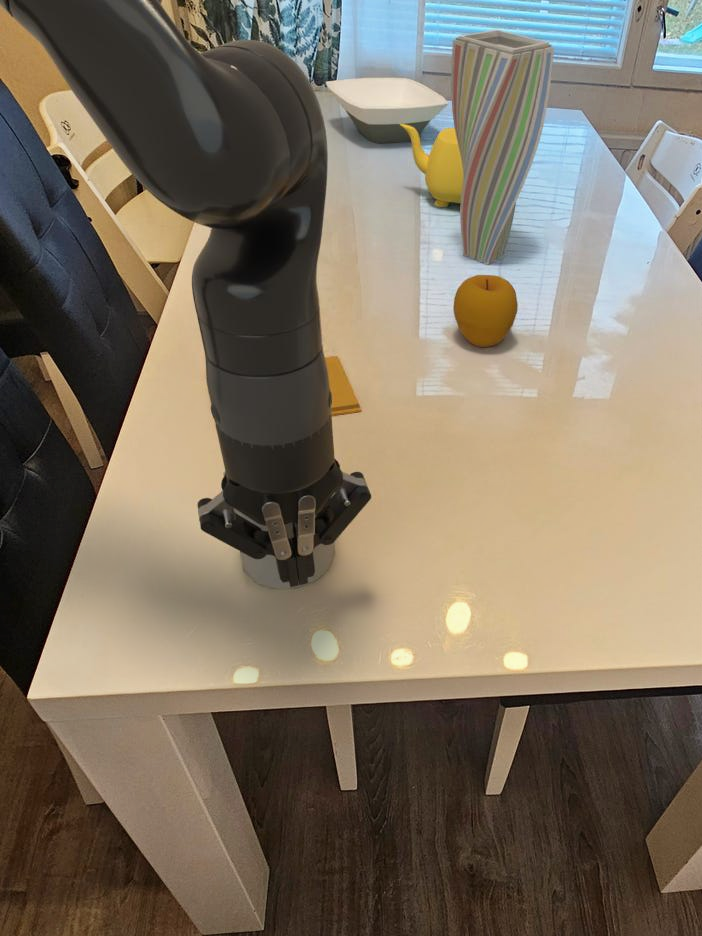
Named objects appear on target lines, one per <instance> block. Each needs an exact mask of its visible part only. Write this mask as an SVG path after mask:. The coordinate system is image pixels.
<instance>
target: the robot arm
mask: <svg viewBox="0 0 702 936" xmlns="http://www.w3.org/2000/svg"><path fill="white" fill-rule="evenodd" d="M162 2H163V0H0V7H1V8H2V9H3V10H4V11H5V12H6V13H8V15H10V17H12V18H13V19H14V20H15V21H16V22H17V23H18V24H19V25H20V26H21V27H22V28H23V29H25V30H26V31H27V33H29V34H30V35H31V36H32V37H33V38H35V40H37V41H38V42H39V44H40V45H41V46H42V47H43V49H44V50H45V51H46V53H47V54H48V56H49V57H50V59H51V60H52V62H53V64H54V65H55V67H56V69H57V70H58V71H59V73H60V74H61V76H62V78H63V80H64V81H65V82H66V84H67V86H68V87H69V89H70V90H71V92H72V93H73V94H74V96H75V97H76V99H77V100H78V101H79V103H80V104H81V106H82V107H83V108H84V109H85V111H86V112H87V114H88V115H89V116H90V118H91V120H92V121H93V123H94V124H95V125H96V127H97V128H98V130H99V131H100V132H101V133H102V135H103V136H104V138H105V140H106V142H108V144H109V146H110V147H111V148H112V149H113V151H114V152H115V154H116V155H117V156H118V158H119V159H120V161H121V162H122V163H123V164H124V166H125V167H126V168H127V170H128V171H129V172H130V174H132V176H133V177H134V179H136V180H137V181H138V183H139V184H140V185H141V186H142V187H143V188H144V189H145V190H146V191H147V192H148V193H150V195H152V196H153V197H154V198H155V199H156V200H157V201H159V202H160V203H162V205H164V206H166V208H168V209H170V210H171V211H173V212H175V213H176V214H177V215H180V216H181V217H182V218H184V219H187V220H189V221H190V222H193V223H195V224H198V225H200V226H203V227H206V228H210V233H209V236H208V238H207V240H206V242H205V244H204V246H203V247H202V249H201V251H200V252H199V254H198V256H197V258H196V259H195V262H194V263H193V267H192V272H191V290H192V297H193V303H194V308H195V312H196V317H197V322H198V328H199V332H200V336H201V342H202V347H203V351H204V358H205V377H206V378H205V379H206V385H207V392H208V396H209V402H210V414H211V417H212V418H213V420H214V424H215V430H216V433H217V438H218V443H219V448H220V453H221V457H222V462H223V467H224V472H225V475H224V474H223V477H222V479H221V482H220V488H221V491H220V493H218V494H217V495H216V496H214V497H213V498H210V497H203V498H201V499H199V500H198V501H197V505H196V506H197V514H198V520H199V521H198V522H199V525H200V530H201V531H202V532H204V533H205V534H208V535H209V536H211V537H213V538H215V539H217V540H218V541H220V542H222V543H224V544H226V545H227V546H230V547H231V548H233V549H235V550H237V551H239V552H240V551H241V552H242V553H244V554H246V555H248V556H250V557H252V558H254V559H262V558H264V557H265V556H266V555H273V556H275V557H276V563H277V568H278V573H279V577H280V580H281V581H282V582H283V583H284V582H289V583H290V587H294V586H299V585H303V586H305V585H304V584H306V585H308V584H309V583H308V577H312V576H314V573H315V566H314V557H313V550H314V548H315V547H316V546H318V545H319V544H323V545H330V544H332V543H334V544H335V542H336V540H338V538H339V537H340V536H341V535H342V534H343V532H344V531H345V530H346V529H347V528H348V527H349V525H350V524H351V523H352V522H353V521H354V520H355V518H356V517H357V516H358V515H359V513H361V511H362V510H363V509H364V508H365V506H366V505H367V504H368V503H369V502H370V501H371V499H372V494H371V492H370V489H369V486H368V483H367V481H366V479H365V476H364V473H362V472H361V471H353V472H352V473H350V474H349V473H346V472H344V471H342V469H341V465H340V462H339V461H338V460H337V459H336V458H335V445H334V431H333V430H334V429H333V416H332V414H331V404H332V392H331V390H330V386H329V375H328V370H327V365H326V361H325V357H326V356H325V353H324V346H323V334H322V321H321V308H320V298H319V297H320V296H319V290H318V282H317V275H318V274H317V273H318V272H317V271H318V262H319V257H320V256H319V255H320V249H321V244H322V237H323V227H324V219H325V206H326V196H327V185H328V169H329V168H328V167H329V166H328V165H329V163H328V161H329V160H328V158H329V155H328V152H329V151H328V140H327V130H326V126H325V120H324V116H323V112H322V108H321V105H320V101H319V98H318V96H317V94H316V92H315V89H314V88H313V86H312V83H311V81H310V79H309V78H308V77H307V75H306V73H305V72H304V71H303V69H302V68H301V66H300V65H298V63H297V62H296V61H295V60H294V59H293V58H292V57H290V56H289V55H288V54H287V53H285V52H284V51H283V50H281V49H279V48H278V47H276V46H274V45H273V44H270V43H268V42H265V41H261V40H254V39H237V40H232V41H228V42H226V43H223V44H219V45H218V46H215V47H212V48H210V49H208V50H207V49H206V51H203V52H199V51H198V50H197V49H196V48H195V47H194V45H192V44H191V43H190V41H189V40H188V39H187V38H186V37H185V36H184V35H183V33H182V32H181V30H180V29H179V28H178V27H177V25H176V24H175V22H174V21H173V19H172V18H171V17H170V16H169V14H168V13H167V11H166V9H165V8H164V7H163V5H162ZM234 508H235V509H236V510H238V511H239V512H241V513H242V514H244V515H246V516H247V517H249V518H250V519H252V520H253V521H255V522H256V523H258V524H261V525H265V526H267V528H268V531H262V529H261V528H260V527H258V526H257V525H255V524H253V523H251V522H250V521H248V520H246V519H245V518H243V517H241V516H240V515H238V514H236V513H235V511H234ZM315 516H316V517H315ZM288 523H292V532H293V536H294V537H293V538H291V539H290V538H288V535H287V533H286V529H285V526H284V525H286V524H288ZM291 541H292V543H291Z"/></svg>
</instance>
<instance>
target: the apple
mask: <svg viewBox="0 0 702 936" xmlns="http://www.w3.org/2000/svg"><path fill="white" fill-rule="evenodd" d="M454 295H455V296H454V298H453V307H452V308H453V314H454V319H455V321H456V324H457V326H458V329H459V331H460V332H461V334H462V335H463V336H464V338H465V340H467V341H468V342H469V343H470V344H472V345H474V346H475V347H480V348H488V347H493V346H495V345H497V344H498V343H500V342H501V341H503V339H504V338H505V337H507V335H508V334H509V332H510V330H511V329H512V327H513V325H514V323H515V320H516V316H517V314H518V309H519V308H518V307H519V304H518V297H517V292H516V290H515V288H514V286H513V285H512V284H511V283H510V281H509V280H507V279H505V278H503V277H502V276H498V275H495V274H493V275H492V274H476V275H473V276H471V277H468V278H467V279H465V280H463V282H462V283H461V284H460V285H459V286H458V288H457V290H456V291H455V294H454Z"/></svg>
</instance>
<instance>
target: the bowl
mask: <svg viewBox="0 0 702 936" xmlns="http://www.w3.org/2000/svg"><path fill="white" fill-rule="evenodd" d="M325 85H326V87H327V89H328V91H329V92H330V93H331V95H332V96H333V97H334V98H335V100H336V101H337V102H338V103H339V105H340V106H341V107H342V108H343V109H344V110H345V112H346V114H347V115H348V118H349V119H350V120H351V122H352V123H353V125H354V126H355V128H356V130H357V131H358V132H359V133H360V134H361V135H362V136H363V137H364V138H366V139H367V140H368V141H370V142H372V143H375V144H393V143H396V144H397V143H404V142H411V138H410V136H409V134H408V132H407V131H406V130H405V129H404V128H403V127H402V126H401V125H400V124H405V125H409V126H412V127H414V128H415V129H416V130H417V132H418V134H419V136H420V135H421V133H422V132H423V131H424V130H425V128H426V127H427V126H428V125H429V123H430V122H432V120H434V119H435V118H436V117H437V116H438V115H439V114H440V113H441V112H442V111H443V110H444V109H445V108H446V107H447V106H448V105H449V101H447V100H446V98H445V97H444V96H442V95H441V94H439V93H437V92H436V91H435V90H433V89H431V88H430V87H427V86H426V85H424V84H422V83H420V82H418V81H416V80H413V79H411V78H408V77H361V78H360V77H358V78H344V79H335V80H328V81H325Z"/></svg>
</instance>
